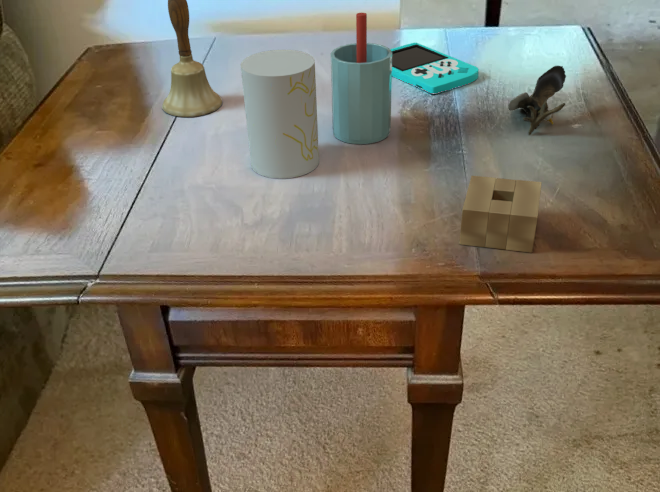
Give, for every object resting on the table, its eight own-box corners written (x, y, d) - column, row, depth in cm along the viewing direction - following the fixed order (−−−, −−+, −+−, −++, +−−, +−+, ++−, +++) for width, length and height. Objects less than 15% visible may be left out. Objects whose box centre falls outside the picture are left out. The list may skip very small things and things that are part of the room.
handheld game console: (431, 96, 105) (432, 86, 104) (362, 63, 116) (362, 54, 115) (486, 78, 109) (486, 69, 108) (414, 49, 120) (415, 40, 119)
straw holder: (536, 216, 79) (541, 182, 77) (532, 253, 74) (537, 217, 71) (468, 209, 81) (471, 175, 78) (459, 244, 76) (462, 209, 73)
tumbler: (395, 122, 99) (397, 44, 92) (383, 146, 93) (384, 65, 87) (341, 118, 100) (339, 41, 94) (326, 141, 95) (323, 61, 89)
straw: (367, 126, 97) (367, 12, 88) (365, 130, 96) (365, 15, 87) (358, 126, 97) (357, 12, 88) (356, 129, 96) (355, 15, 87)
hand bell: (229, 110, 104) (215, -13, 94) (169, 121, 102) (148, -4, 92) (214, 89, 110) (199, -29, 100) (157, 99, 108) (136, -21, 98)
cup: (304, 182, 87) (298, 79, 79) (239, 173, 89) (228, 72, 82) (328, 151, 93) (325, 52, 85) (267, 143, 95) (258, 47, 88)
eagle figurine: (579, 129, 92) (577, 87, 98) (554, 84, 88) (553, 43, 94) (520, 154, 96) (522, 113, 102) (494, 112, 93) (497, 72, 98)
